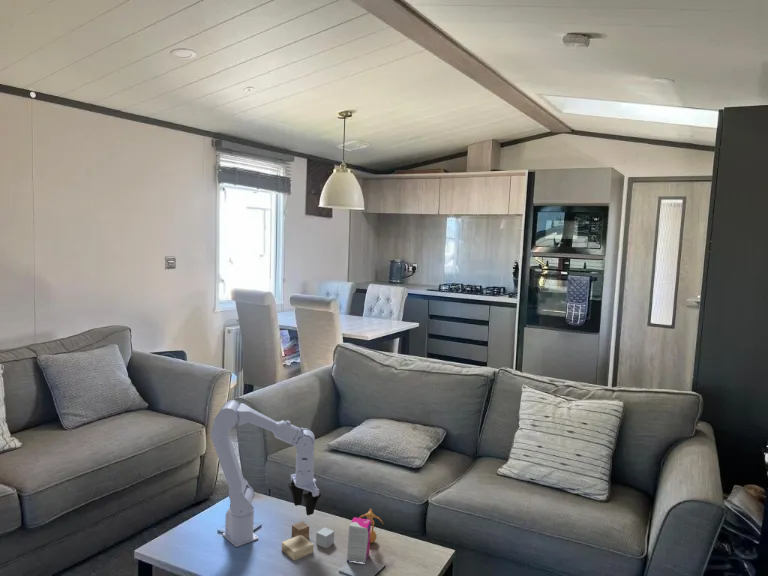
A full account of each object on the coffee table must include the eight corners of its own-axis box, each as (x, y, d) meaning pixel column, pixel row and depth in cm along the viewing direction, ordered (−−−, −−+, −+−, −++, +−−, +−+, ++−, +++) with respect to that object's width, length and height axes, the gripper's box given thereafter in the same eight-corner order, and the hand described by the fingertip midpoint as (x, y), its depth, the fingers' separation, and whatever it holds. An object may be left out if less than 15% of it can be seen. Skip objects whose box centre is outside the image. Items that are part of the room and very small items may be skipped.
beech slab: (281, 551, 171) (281, 542, 170) (300, 543, 175) (300, 534, 175) (294, 561, 166) (294, 551, 165) (313, 553, 170) (313, 544, 170)
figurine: (383, 540, 179) (385, 504, 178) (381, 550, 173) (382, 513, 172) (358, 537, 180) (360, 502, 179) (355, 547, 174) (356, 510, 173)
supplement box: (365, 565, 164) (367, 528, 164) (346, 562, 166) (347, 525, 165) (370, 554, 170) (371, 519, 169) (351, 551, 171) (352, 516, 170)
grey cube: (316, 544, 175) (316, 532, 174) (324, 539, 178) (324, 527, 178) (326, 548, 173) (326, 536, 172) (333, 543, 176) (334, 531, 176)
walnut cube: (291, 536, 179) (291, 525, 178) (301, 532, 181) (302, 521, 181) (298, 542, 176) (298, 530, 175) (308, 538, 178) (309, 526, 178)
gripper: (327, 473, 173) (326, 514, 174) (303, 458, 185) (303, 497, 186) (308, 478, 169) (307, 521, 170) (285, 463, 180) (284, 503, 181)
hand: (303, 509), depth 178 cm, fingers open, 7 cm apart
